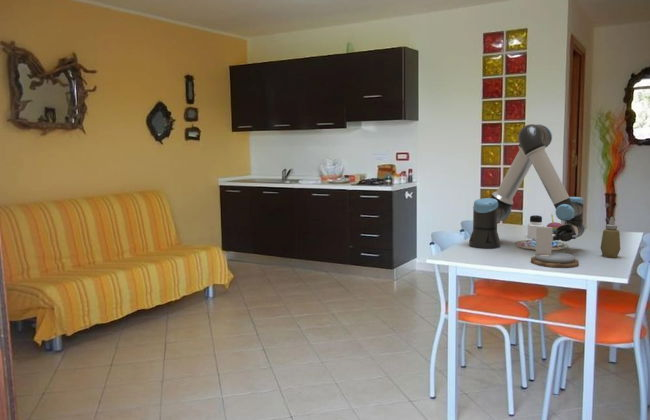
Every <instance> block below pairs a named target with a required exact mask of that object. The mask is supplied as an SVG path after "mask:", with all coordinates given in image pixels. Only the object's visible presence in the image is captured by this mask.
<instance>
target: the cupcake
mask: <svg viewBox="0 0 650 420" xmlns="http://www.w3.org/2000/svg"><path fill="white" fill-rule="evenodd" d="M550 215H551V221H552V222H550V223H547V224H546V227H552V232H553V231H556V230H557V229H558V227H560V226H562V225H563V224H562V223H560V222H555V221H554V217H553V216H554V214H550Z"/></svg>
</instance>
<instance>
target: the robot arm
mask: <svg viewBox="0 0 650 420" xmlns="http://www.w3.org/2000/svg"><path fill="white" fill-rule="evenodd" d="M517 137H518V138H517V139H518V140H517V141H518V143H519V144H518V146H517V147H518V149H519V150H518V151H517V154H516V156H515V157H514V159H513V161H512V162H511V164H510V166H509V168H508V170H507V172H506V173H505V175H504V177H503V180H502V181H501V183H500V184H499V187H498V188H497V190H496V191H493V192H492V193H491V195H490V197H484V198H478V199H475V201H473V205H472V209H473V211H472V212H473V215H472V217H473V219H472V232H471V235H470V238H469V241H468V246H469V247H473V248H477V249H478V248H479V249H497V248H500V247H501V240H500V236H499V232H498V223H499V222H503V221H505V220H506V219H508V218H509V216H510V215H511V212H512V206H513V205H514V201H513V198H514V197H515V195H516V193H517V192H518V190H519V188H520V186H521V184H522V183H523V181H524V179H525V177H526V176H527V174H528V172H529V170H531V169H530V168H531V167H532V166H533V168H534V170H535V171H536V173H537V176H538V177H539V179H540V181H541V184H542V186H543V187H544V188H545V191H546V192H547V195H548V197H549V199H550V200H551V202H552V204H553V206H554V208H555V216H556V217H557V219H558V220H560V221H563V222H564V221H565V224H562V226H560V227H558V229H557V230H556V231H553V232H552V243H553V242H556V241H557V242H559V241H560V242H570V241H571V240H575V239H577V238H579V237H581V236H583V234H584V233H585V231H586V226H585V223H584V222H583V221H584V206H585V203H584V198H583V197H582V196H581V197H580V196H570V195H569V194H568V192H567V190H566V188H565V186H564V184H563V182H562V181H561V178H560V177H559V175H558V172H557V171H556V169H555V167H554V165H553V163H552V162H551V160H550V158H549V156H548V154H547V152H546V150H545V149H546V148H548V147H549V145H550V144H551V143H552V140H553V134H552V131H551V129H550V128H549V127H547V126H545V125H543V124H539V123H538V124H533V123H532V124H526V125H524V126H523V127H522V128H521V129H520V131H519V133H518V135H517Z"/></svg>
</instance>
